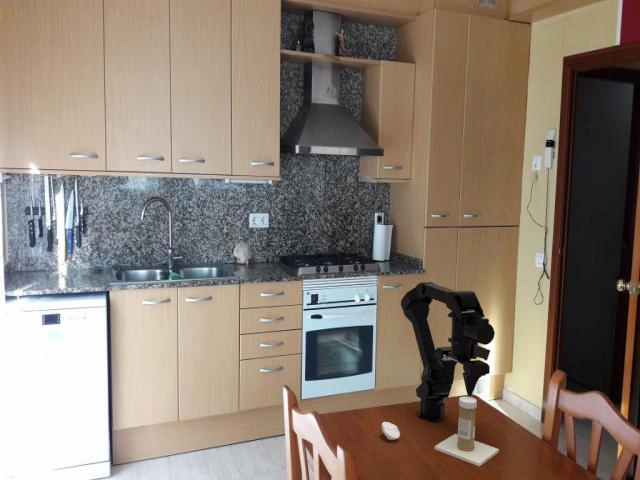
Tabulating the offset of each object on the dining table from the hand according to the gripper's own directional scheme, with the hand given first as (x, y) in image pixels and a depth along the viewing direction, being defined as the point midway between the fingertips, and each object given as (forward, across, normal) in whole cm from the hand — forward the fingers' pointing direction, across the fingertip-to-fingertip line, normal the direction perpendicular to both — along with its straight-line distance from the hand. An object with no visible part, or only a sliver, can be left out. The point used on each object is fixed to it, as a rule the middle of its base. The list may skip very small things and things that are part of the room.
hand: (459, 389), depth 156 cm
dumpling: (+13, +4, +20) cm, 24 cm away
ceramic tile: (+13, -9, +4) cm, 16 cm away
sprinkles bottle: (+13, -9, +4) cm, 16 cm away
